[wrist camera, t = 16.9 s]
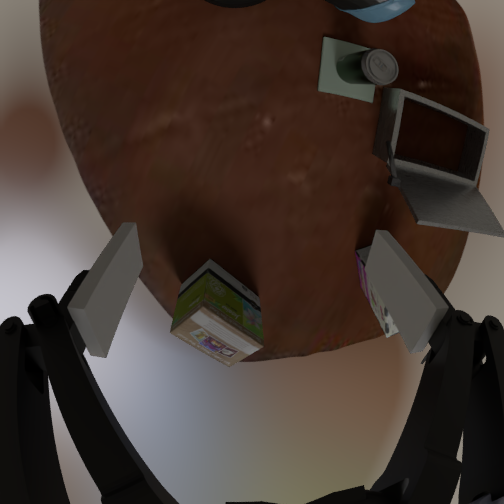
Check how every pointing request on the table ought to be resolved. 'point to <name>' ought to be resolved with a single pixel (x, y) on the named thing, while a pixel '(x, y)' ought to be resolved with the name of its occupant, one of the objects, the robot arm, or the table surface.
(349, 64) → the beer can
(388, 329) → the candy bar box
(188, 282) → the tea box
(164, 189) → the table surface
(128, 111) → the table surface
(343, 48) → the pad
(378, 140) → the case
